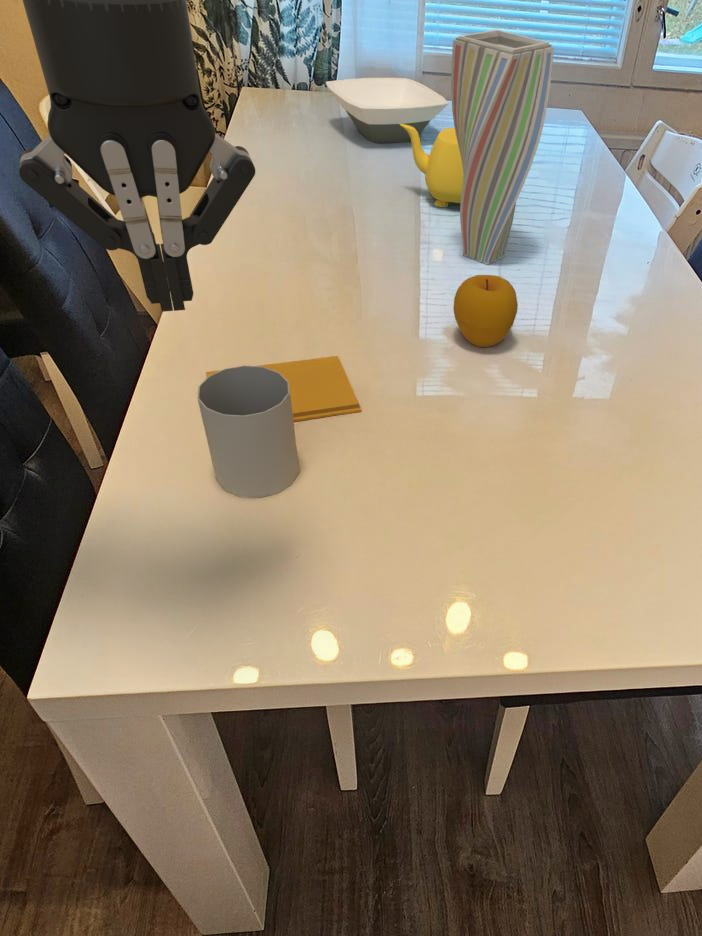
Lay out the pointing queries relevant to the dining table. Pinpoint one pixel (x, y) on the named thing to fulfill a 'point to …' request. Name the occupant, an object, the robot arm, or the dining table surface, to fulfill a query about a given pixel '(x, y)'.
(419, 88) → the bowl
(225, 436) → the cup
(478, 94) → the vase
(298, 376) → the orange rectangular slab
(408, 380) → the dining table surface
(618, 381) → the dining table surface
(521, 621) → the dining table surface
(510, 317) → the apple
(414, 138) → the teapot
